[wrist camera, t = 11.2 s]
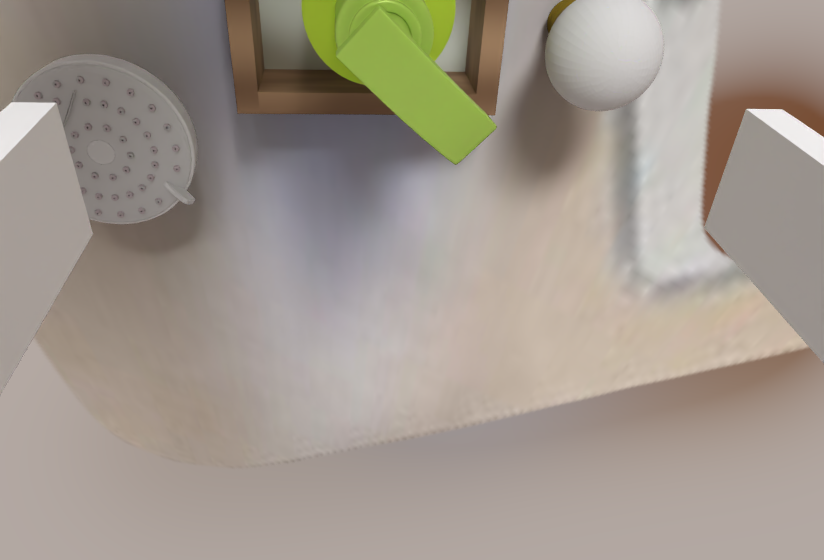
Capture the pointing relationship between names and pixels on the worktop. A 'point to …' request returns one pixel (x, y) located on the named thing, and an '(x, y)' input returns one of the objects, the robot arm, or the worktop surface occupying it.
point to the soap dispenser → (400, 64)
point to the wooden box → (330, 92)
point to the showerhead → (119, 135)
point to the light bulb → (603, 51)
